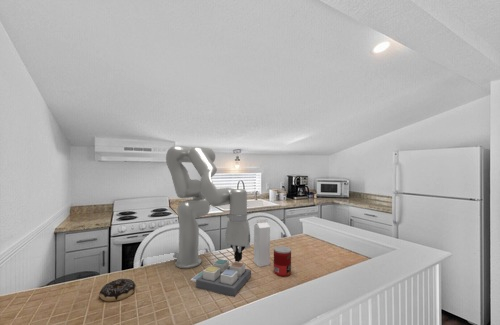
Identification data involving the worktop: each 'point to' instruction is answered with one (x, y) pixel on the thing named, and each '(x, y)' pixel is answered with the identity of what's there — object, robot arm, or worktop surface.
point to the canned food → (282, 261)
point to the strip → (197, 276)
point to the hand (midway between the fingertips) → (238, 260)
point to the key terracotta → (238, 268)
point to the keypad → (224, 288)
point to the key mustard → (211, 273)
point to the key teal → (221, 265)
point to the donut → (117, 290)
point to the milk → (262, 243)
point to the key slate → (229, 277)
